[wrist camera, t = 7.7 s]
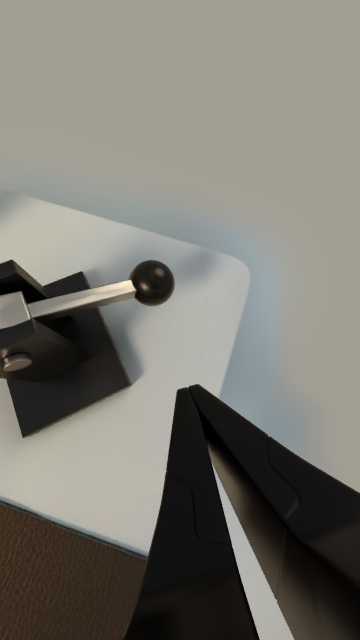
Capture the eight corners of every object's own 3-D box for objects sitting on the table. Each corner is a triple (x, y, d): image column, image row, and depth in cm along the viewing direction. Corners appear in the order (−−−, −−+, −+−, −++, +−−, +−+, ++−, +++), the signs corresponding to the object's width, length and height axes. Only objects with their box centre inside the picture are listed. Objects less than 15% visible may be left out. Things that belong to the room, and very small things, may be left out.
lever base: (86, 276, 24) (34, 201, 15) (132, 385, 21) (103, 375, 12) (-5, 312, 23) (-125, 253, 14) (30, 435, 20) (-94, 469, 10)
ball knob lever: (157, 273, 22) (167, 246, 19) (174, 306, 21) (188, 284, 18) (-19, 315, 16) (-46, 285, 13) (-6, 364, 15) (-31, 345, 12)
